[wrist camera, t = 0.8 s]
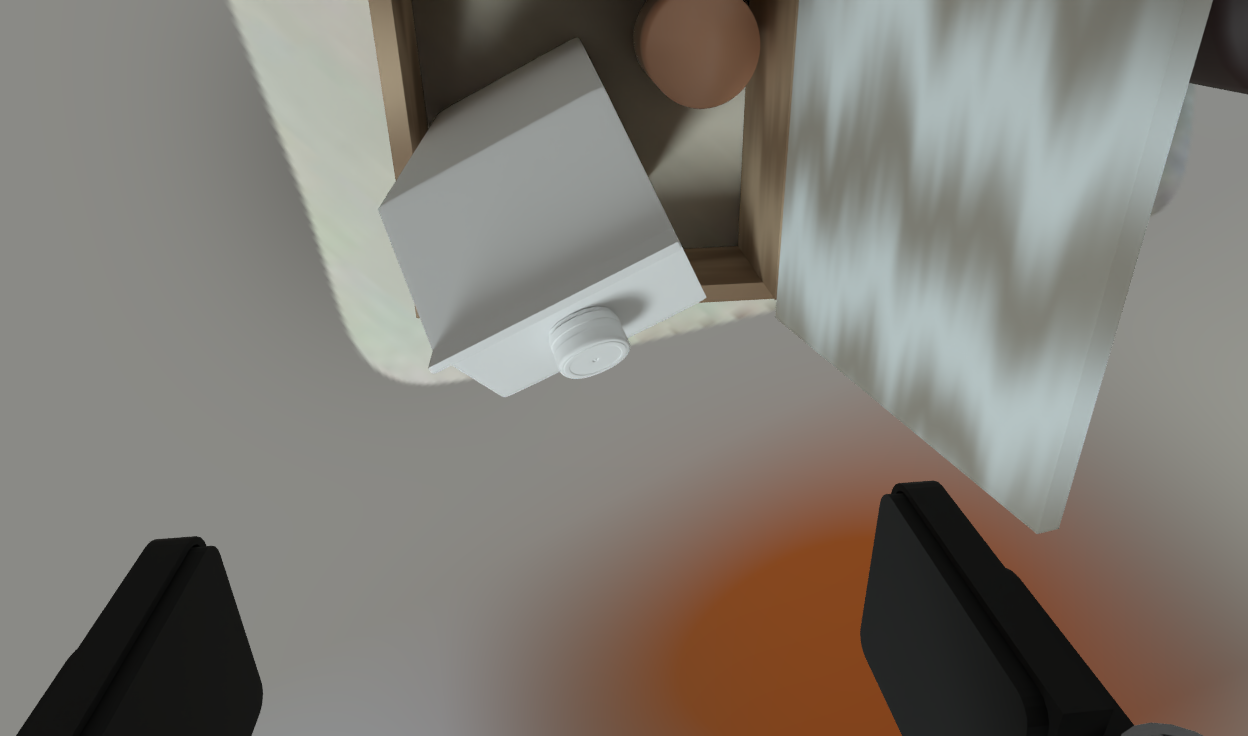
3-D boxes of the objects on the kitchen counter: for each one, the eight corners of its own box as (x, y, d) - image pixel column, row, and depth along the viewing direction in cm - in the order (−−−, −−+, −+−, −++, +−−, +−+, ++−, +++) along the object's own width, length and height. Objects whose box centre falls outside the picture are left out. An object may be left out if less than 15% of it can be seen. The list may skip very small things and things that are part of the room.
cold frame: (385, -47, 32) (164, -50, 13) (841, -56, 34) (1240, -71, 15) (430, 277, 39) (325, 590, 20) (812, 257, 40) (1061, 531, 21)
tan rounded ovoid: (632, -17, 34) (646, -13, 29) (734, -20, 34) (763, -16, 30) (633, 91, 36) (647, 110, 31) (730, 88, 36) (756, 106, 32)
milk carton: (436, 112, 35) (345, 254, 19) (577, 34, 35) (615, 109, 18) (517, 247, 39) (501, 472, 22) (648, 179, 38) (736, 358, 21)
